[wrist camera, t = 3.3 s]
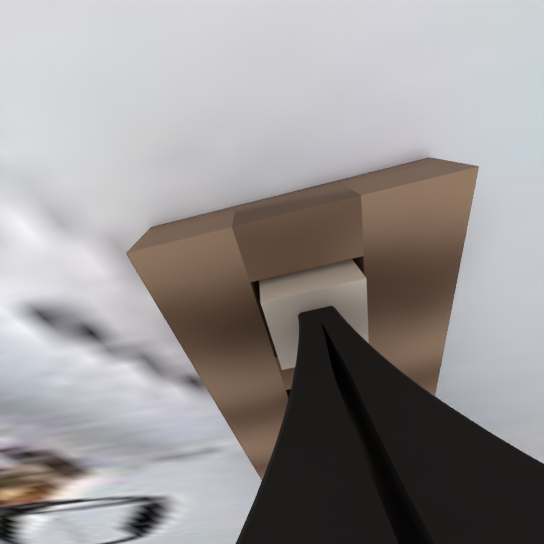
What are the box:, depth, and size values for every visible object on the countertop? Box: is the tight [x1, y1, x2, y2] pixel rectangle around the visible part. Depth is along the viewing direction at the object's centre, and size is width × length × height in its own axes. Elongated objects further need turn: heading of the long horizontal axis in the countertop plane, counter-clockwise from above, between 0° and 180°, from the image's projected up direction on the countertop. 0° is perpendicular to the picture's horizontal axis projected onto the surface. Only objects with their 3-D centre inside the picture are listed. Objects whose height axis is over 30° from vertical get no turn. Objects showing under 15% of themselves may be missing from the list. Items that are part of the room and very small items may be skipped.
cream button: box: [259, 259, 369, 370], centre depth 11 cm, size 4×4×3 cm
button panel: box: [126, 158, 479, 480], centre depth 15 cm, size 23×12×2 cm, turn 13°
